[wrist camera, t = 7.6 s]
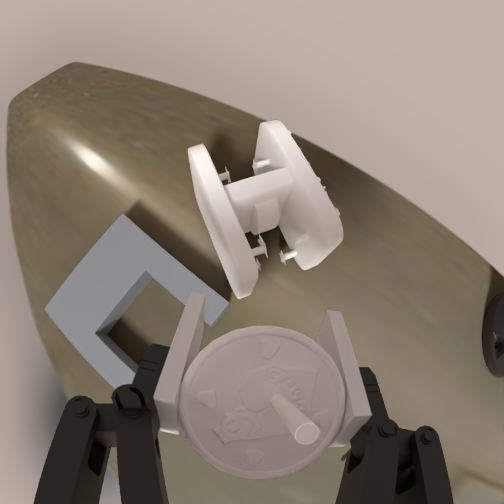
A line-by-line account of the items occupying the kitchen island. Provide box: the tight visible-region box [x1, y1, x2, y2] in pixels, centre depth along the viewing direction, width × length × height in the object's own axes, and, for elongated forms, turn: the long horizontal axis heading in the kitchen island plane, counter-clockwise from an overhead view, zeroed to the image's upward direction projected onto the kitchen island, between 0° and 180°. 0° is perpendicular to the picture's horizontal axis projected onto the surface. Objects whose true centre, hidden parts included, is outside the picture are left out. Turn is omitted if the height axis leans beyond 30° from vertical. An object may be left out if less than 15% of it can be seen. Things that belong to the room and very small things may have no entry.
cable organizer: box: [188, 120, 343, 299], centre depth 30 cm, size 15×11×12 cm
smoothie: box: [178, 326, 345, 479], centre depth 12 cm, size 6×6×14 cm
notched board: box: [45, 214, 230, 389], centre depth 29 cm, size 16×15×4 cm
